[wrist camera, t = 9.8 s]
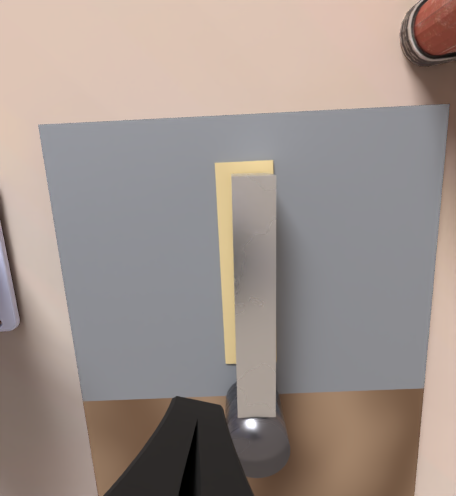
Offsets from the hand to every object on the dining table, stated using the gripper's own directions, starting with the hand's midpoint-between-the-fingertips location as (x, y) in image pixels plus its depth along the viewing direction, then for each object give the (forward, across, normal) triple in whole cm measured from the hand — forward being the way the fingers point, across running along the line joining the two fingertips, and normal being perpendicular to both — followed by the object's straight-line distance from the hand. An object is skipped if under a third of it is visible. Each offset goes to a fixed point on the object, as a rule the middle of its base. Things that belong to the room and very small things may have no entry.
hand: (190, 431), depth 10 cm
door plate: (+9, -1, -2) cm, 10 cm away
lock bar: (+8, -2, -1) cm, 8 cm away
